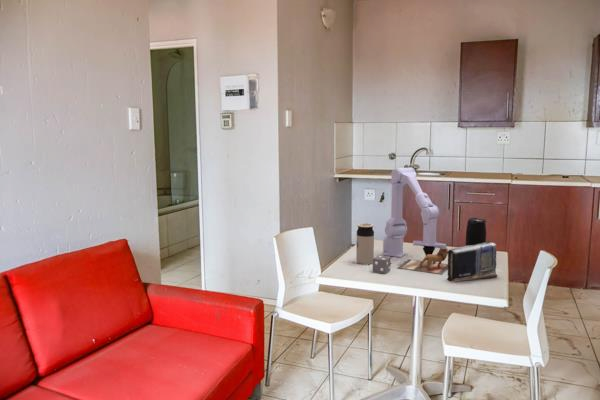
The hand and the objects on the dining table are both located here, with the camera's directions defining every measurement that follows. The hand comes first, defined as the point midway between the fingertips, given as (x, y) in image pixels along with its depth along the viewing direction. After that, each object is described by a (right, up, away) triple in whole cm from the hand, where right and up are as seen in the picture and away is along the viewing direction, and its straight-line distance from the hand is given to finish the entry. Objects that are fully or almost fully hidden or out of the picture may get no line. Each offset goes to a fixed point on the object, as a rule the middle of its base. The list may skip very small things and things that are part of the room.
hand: (428, 262), depth 226 cm
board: (-2, -2, +2) cm, 3 cm away
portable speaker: (+25, 0, +14) cm, 29 cm away
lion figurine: (+1, -1, -1) cm, 2 cm away
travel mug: (-28, -1, +10) cm, 29 cm away
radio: (+14, -5, -16) cm, 22 cm away
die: (-22, -3, -5) cm, 23 cm away
